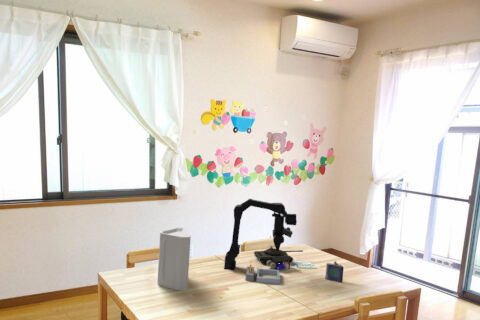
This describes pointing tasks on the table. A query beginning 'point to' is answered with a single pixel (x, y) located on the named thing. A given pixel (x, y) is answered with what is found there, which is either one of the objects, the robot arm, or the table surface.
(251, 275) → the dispenser
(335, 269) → the wallet
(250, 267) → the tan wooden block
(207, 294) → the table surface
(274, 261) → the figurine character
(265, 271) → the tray
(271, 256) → the toy tank
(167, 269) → the tall grey upright pillar
